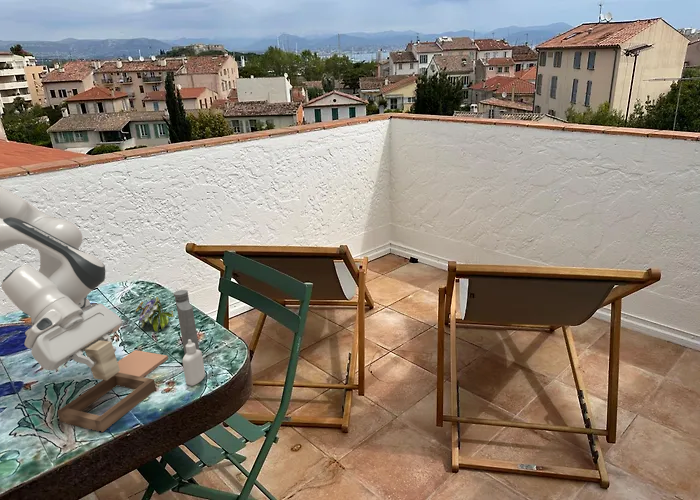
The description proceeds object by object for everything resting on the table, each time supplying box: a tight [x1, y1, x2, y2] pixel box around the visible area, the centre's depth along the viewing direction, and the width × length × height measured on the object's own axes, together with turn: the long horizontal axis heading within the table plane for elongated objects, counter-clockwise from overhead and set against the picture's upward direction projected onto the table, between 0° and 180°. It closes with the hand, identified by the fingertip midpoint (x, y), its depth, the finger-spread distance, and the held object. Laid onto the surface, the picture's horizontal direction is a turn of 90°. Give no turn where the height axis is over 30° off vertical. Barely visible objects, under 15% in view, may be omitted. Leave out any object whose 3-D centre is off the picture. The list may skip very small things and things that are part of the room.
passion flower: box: [135, 296, 175, 333], centre depth 153 cm, size 11×11×12 cm
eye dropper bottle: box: [182, 339, 206, 386], centre depth 120 cm, size 4×6×12 cm
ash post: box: [84, 340, 120, 381], centre depth 108 cm, size 4×4×8 cm
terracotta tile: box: [117, 349, 169, 378], centre depth 129 cm, size 12×12×1 cm
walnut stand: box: [56, 373, 157, 433], centre depth 112 cm, size 13×17×3 cm
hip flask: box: [173, 289, 200, 355], centre depth 132 cm, size 16×4×20 cm, turn 25°
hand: (104, 358), depth 108 cm, fingers closed on ash post, 4 cm apart
